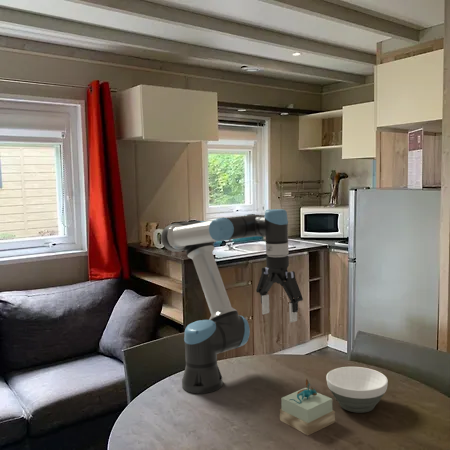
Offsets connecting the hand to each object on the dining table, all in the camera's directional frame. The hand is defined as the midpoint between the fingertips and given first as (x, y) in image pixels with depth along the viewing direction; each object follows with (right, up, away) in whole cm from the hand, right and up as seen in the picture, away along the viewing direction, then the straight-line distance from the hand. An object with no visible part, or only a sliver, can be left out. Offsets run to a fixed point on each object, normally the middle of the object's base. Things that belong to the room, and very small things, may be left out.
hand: (279, 317), depth 164 cm
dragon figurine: (+6, -23, -14) cm, 27 cm away
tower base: (+7, -30, -13) cm, 34 cm away
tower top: (+7, -26, -14) cm, 31 cm away
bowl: (+25, -29, -4) cm, 38 cm away
